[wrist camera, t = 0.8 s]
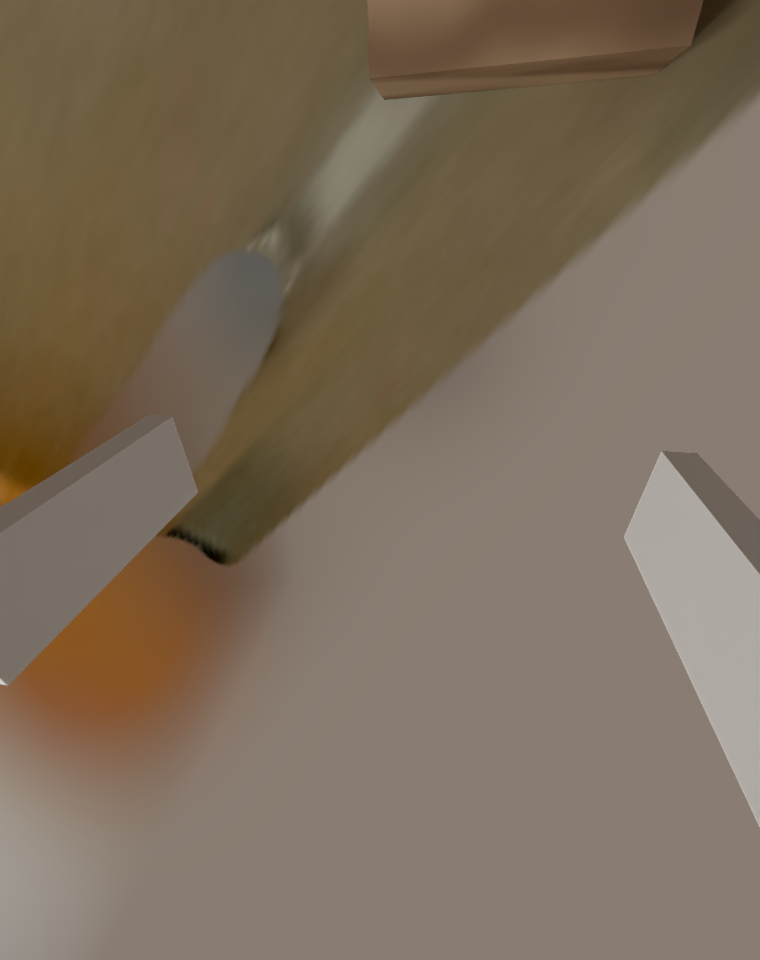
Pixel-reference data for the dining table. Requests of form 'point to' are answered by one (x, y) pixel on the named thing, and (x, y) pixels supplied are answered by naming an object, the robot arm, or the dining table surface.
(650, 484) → the robot arm
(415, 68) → the board
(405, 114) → the dining table surface
